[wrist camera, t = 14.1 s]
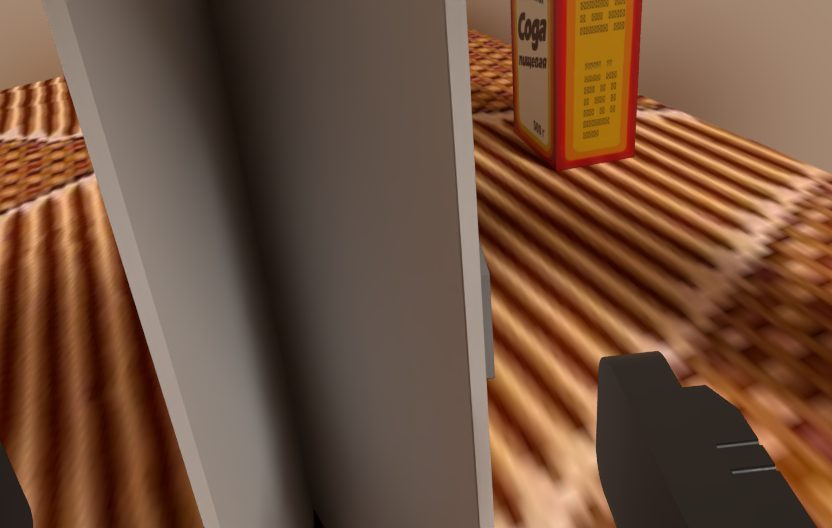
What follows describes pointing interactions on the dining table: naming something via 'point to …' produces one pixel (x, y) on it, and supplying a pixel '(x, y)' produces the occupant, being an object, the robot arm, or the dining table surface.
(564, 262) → the dining table surface
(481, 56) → the dining table surface
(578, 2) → the baking soda box
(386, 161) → the brochure
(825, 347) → the dining table surface
